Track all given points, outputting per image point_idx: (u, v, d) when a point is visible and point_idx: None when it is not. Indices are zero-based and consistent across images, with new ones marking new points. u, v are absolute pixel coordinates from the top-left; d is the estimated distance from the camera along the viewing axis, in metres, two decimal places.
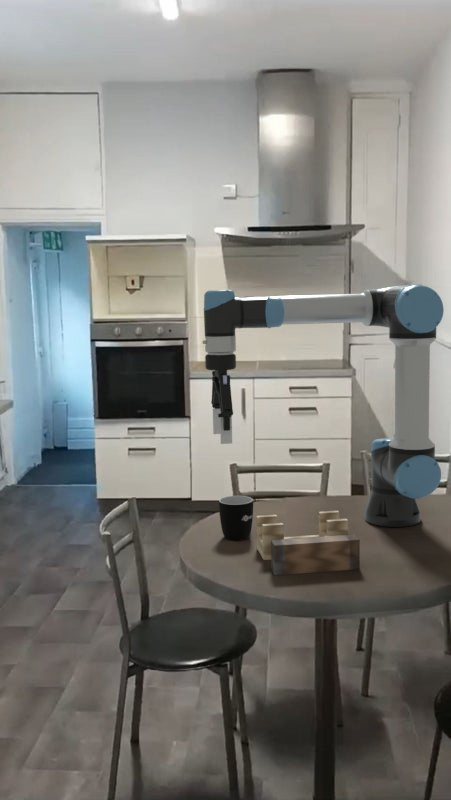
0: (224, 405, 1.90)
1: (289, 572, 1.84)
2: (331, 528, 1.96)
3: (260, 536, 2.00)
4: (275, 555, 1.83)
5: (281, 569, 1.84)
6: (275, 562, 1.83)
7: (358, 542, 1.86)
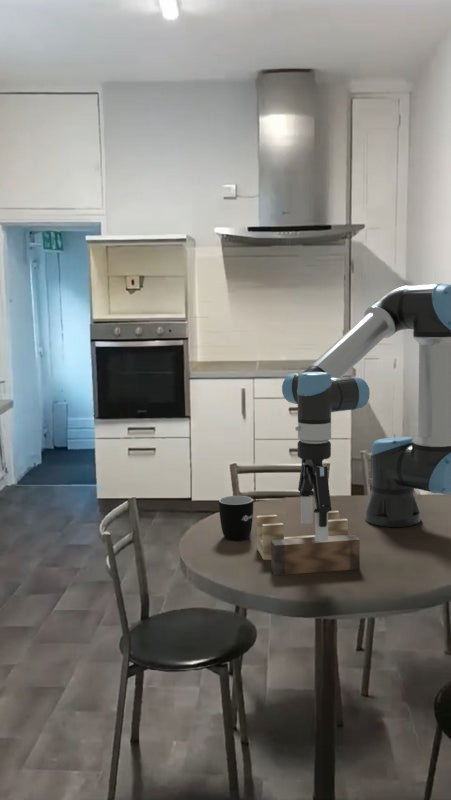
0: (322, 500, 1.75)
1: (289, 572, 1.84)
2: (331, 528, 1.96)
3: (260, 536, 2.00)
4: (275, 555, 1.83)
5: (281, 569, 1.84)
6: (275, 562, 1.83)
7: (358, 542, 1.86)
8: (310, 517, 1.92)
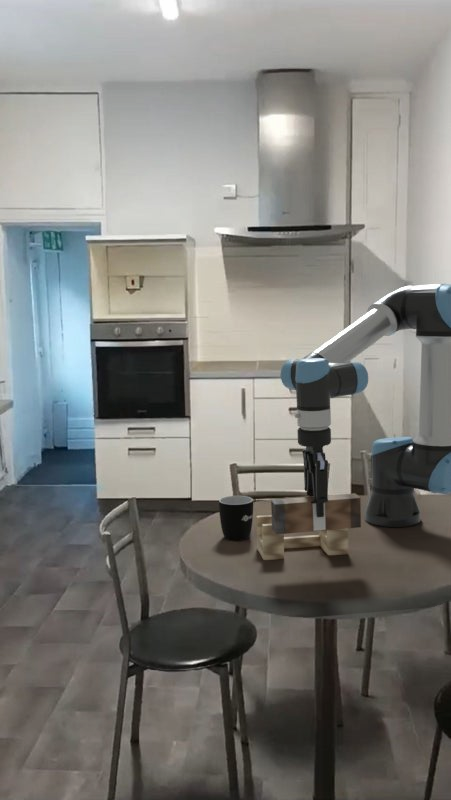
0: (319, 493, 1.79)
1: (290, 531, 1.83)
2: None
3: (260, 536, 2.00)
4: (275, 514, 1.82)
5: (282, 528, 1.83)
6: (276, 521, 1.82)
7: (359, 500, 1.85)
8: None
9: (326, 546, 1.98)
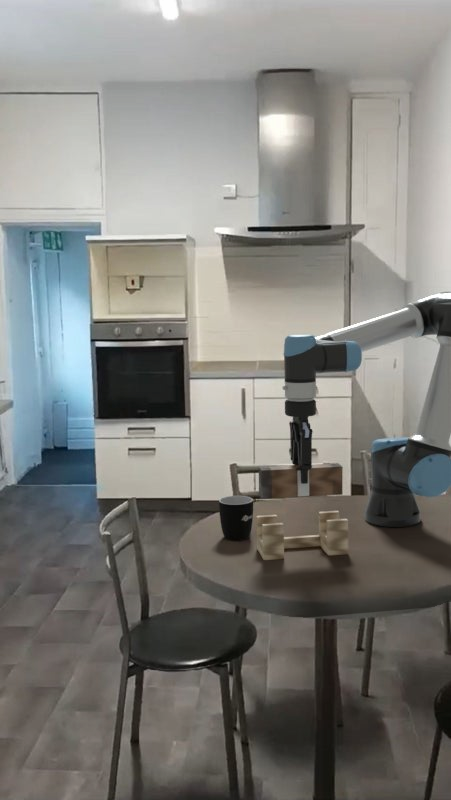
0: (304, 460, 1.91)
1: (275, 496, 1.95)
2: (331, 528, 1.96)
3: (260, 536, 2.00)
4: (262, 479, 1.94)
5: (268, 493, 1.95)
6: (262, 486, 1.94)
7: (341, 469, 1.96)
8: None
9: (326, 546, 1.98)
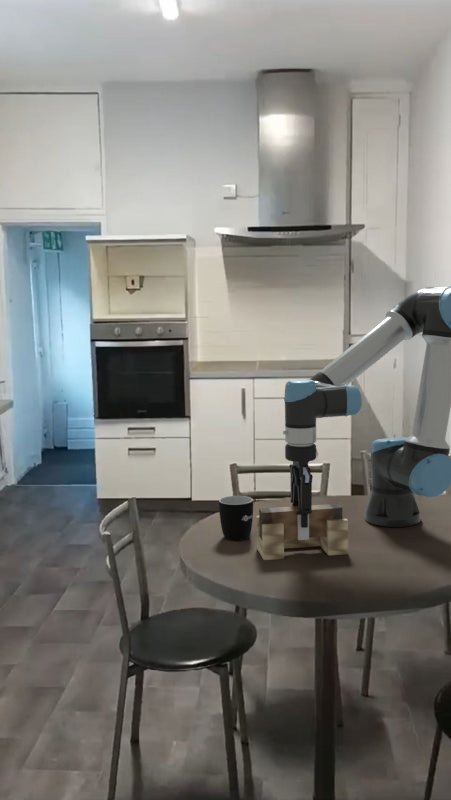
0: (304, 505, 1.92)
1: None
2: (331, 528, 1.96)
3: None
4: (263, 522, 1.95)
5: None
6: None
7: (341, 510, 1.98)
8: None
9: (326, 546, 1.98)
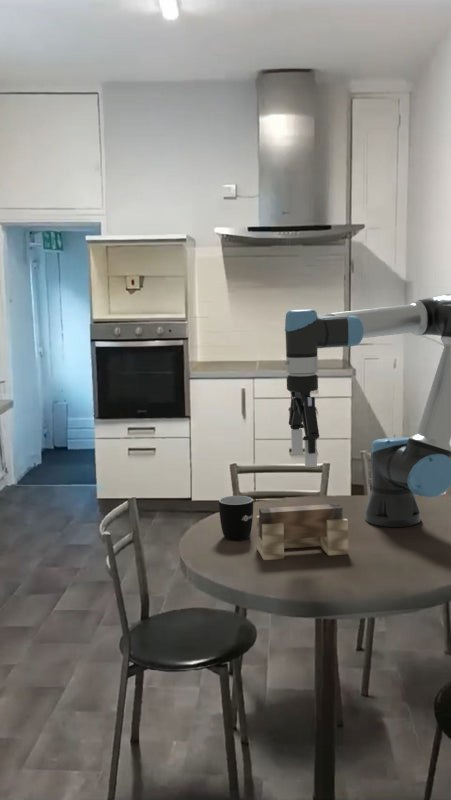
0: (310, 428, 1.87)
1: None
2: (331, 528, 1.96)
3: None
4: (263, 522, 1.95)
5: None
6: None
7: (341, 510, 1.98)
8: (300, 449, 2.03)
9: (326, 546, 1.98)
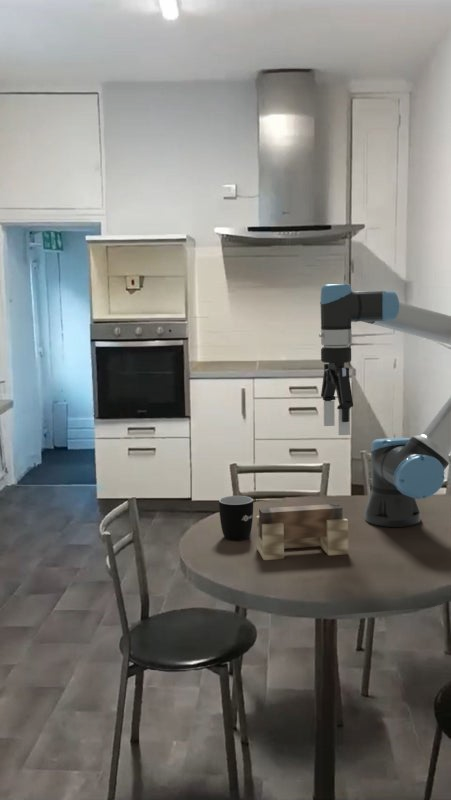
0: (344, 397, 1.94)
1: None
2: (331, 528, 1.96)
3: None
4: (263, 522, 1.95)
5: None
6: None
7: (341, 510, 1.98)
8: (332, 420, 2.11)
9: (326, 546, 1.98)
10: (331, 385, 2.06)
